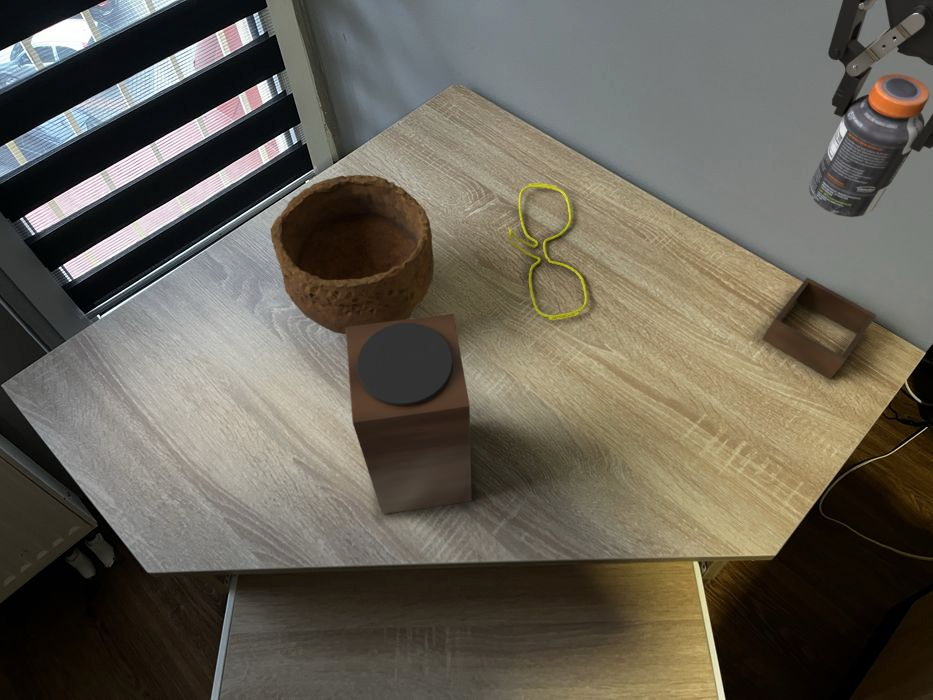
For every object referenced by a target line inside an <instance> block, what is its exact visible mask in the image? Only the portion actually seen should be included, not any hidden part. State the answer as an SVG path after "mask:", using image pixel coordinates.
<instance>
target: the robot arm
mask: <svg viewBox="0 0 933 700" xmlns="http://www.w3.org/2000/svg"><path fill="white" fill-rule="evenodd" d="M879 1H880V0H842V2H841V6H840V9H839V13H838V16H837V19H836V23H835V27H834V30H833V34H832V37H831V40H830V44H829V48H828V51H827V53H828V57H829V58H830V59H831V60H833V61H839V62H840V63H841V64H842V65H843V66H844V70H845V71H844V74H843V76H842V78H841V80H840V82H839V84H838V86H837V88H836V90H835V92H834V94H833V96H832V98H831V106H833V107H835V110H834V112H833V114H834V115H835V116H838V117H839V118H843V117H844V115H845V113H846V111H847V109H848V108H849V106H850V105H851V104H852V103H853V102H854V101H855V100H856V99H858V96H859V95H860V92H861V90H862V88H863V87H864V85H865V83H866V81H867V79H868V77H869V76H870V74H871V72H872V69H873V67H872V66H873V65H874V64H875V63H877V62H879V61H880V60H881V59H883V58H884V57H886V56H887V55H888V54H889V53H890V52H892V51H893V50H894V49H896V48H897V51H896V52H897V53H898V54H902V55H904V56H907V57H913V58H919V59H921V60H922V61H923V62H924V63H926V64H928V65H930V66H932V67H933V0H884V2H885V7H886V13H887V20H888V26H889V27H888V28H887V29H885V31H883V32H882V33H881V34H880V35H879V36H878V37H876V38H875V39H874V40H873V41H871V42H870V43H869V44H867V46H864V45H863V44H862V43H861V42H860V41H859V38H860V34H861V32H862V28H863V25H864V21H865V18H866V15H867V13H868V11H870V10H871V9H872V8H873V7H875V6H876V4H878V2H879ZM924 147H925V148H926V149H932V148H933V113H932V114H931V116H930V117H929V119H928V120H927V122H926V123H925V124H924V128H923V130H922V131H921V133H920V134H919V136H918V137H917V139H916V141H915V142H914V144H913V145H912V147H911V149H912V151H915V152H918V153H920V152H921V151H922V150H923V149H924Z"/></svg>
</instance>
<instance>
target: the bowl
mask: <svg viewBox="0 0 933 700" xmlns="http://www.w3.org/2000/svg"><path fill="white" fill-rule="evenodd" d="M430 221H431V220H430V219H429V217H428V215H427V212H426V210H425V208H424V207H423V206H422V205H421V204H420V203H419V202H418V200H417V199H416V198H415V197H413V196H412V195H411V194H410V193H409V192H407V191H406V190H405V189H404V188H403V187H401V186H398V185H396V184H395V182H394V181H388V179H387V178H384V177H381V176H377V175H369V174H367V175H364V174H363V175H362V174H354V175H352V174H351V175H346V176H345V175H339V176H335V177H332V178H327V179H324V180H321V181H319V182H316V183H312V184H311V185H310V186H309V187H308V188H304V189H303V190H302V191H300V193H298V194H297V195H296V196H293V197H292V198H291V200H290V201H288V203H287V206H286V208H285V209H283V210H282V212H281V214H280V215H278V216H277V217H276V218H275V220H274V222H273V224H272V225H271V227H270V238H271V243H272V246H273V249H274V253H275V256H276V260H277V261H278V262H277V263H278V264H279V267H280V270H281V273H282V279H283V285H284V290H285V292H286V294H287V295H288V296H289V298H290V300H291V302H292V303H293V304H294V305H295V306H296V307H297V308H298V309H299V311H300V312H301V313H302V314H303V315H304V316H305V317H306V318H308V319H309V320H310V321H312V322H314V323H316V324H318V325H319V326H321V327H323V328H325V329H327V330H329V331H331V332H333V333H335V334H344V335H346V327H351V326H359V325H367V324H374V323H382V322H389V321H397V320H405V319H409V318H410V317H411V316H412V315H413V314H414V312H415V310H416V309H417V307H418V306H419V305H420V304H421V303H422V301H423V300H424V299H425V297H426V295H427V294H428V291H429V288H430V286H432V285H431V284H432V282H433V279H434V271H435V259H434V251H433V233H432V228H431V223H430Z"/></svg>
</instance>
